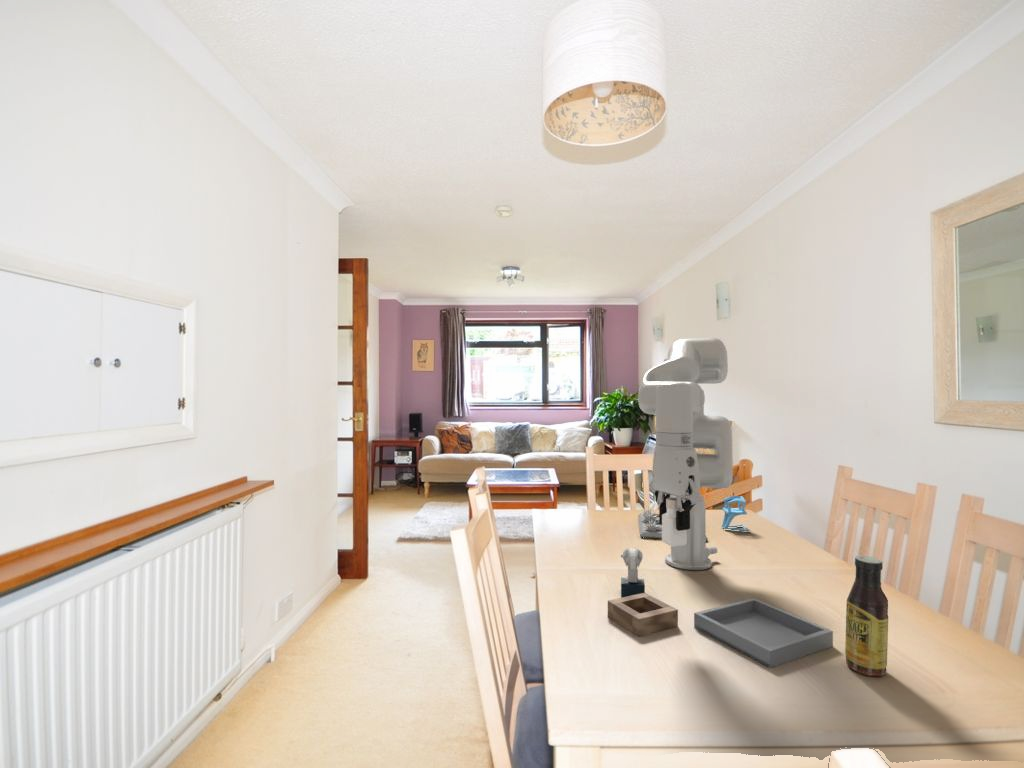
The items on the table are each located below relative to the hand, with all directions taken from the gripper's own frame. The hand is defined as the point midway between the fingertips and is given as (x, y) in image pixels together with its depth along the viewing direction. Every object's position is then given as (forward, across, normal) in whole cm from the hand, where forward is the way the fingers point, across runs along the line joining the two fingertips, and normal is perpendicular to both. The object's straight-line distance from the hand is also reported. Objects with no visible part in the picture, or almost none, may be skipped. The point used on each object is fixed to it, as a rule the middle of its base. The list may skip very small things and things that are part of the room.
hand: (674, 525), depth 112 cm
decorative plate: (+22, +61, -52) cm, 83 cm away
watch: (+21, +17, -2) cm, 28 cm away
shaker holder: (+21, +4, +5) cm, 22 cm away
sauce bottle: (+21, -28, -19) cm, 40 cm away
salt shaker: (+4, 0, 0) cm, 4 cm away
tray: (+21, -11, -12) cm, 27 cm away
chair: (+22, +51, -72) cm, 91 cm away
